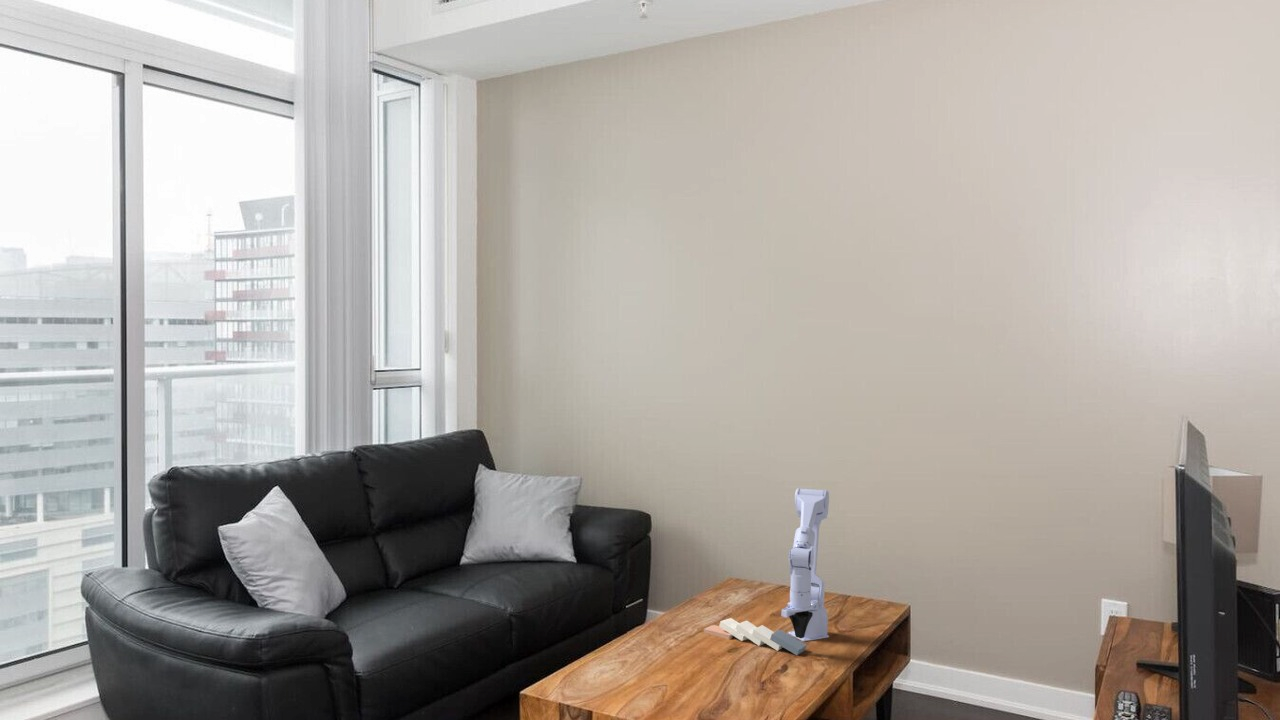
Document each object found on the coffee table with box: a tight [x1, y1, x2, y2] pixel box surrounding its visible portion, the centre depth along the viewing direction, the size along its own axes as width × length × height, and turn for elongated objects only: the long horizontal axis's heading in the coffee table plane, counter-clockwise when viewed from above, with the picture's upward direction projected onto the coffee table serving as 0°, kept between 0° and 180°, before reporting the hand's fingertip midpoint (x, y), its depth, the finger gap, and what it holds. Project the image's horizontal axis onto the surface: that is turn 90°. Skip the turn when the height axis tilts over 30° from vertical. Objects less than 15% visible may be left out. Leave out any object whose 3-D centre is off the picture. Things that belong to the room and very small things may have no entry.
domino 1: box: [703, 624, 736, 640], centre depth 280 cm, size 2×5×9 cm
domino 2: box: [718, 617, 749, 642], centre depth 278 cm, size 2×5×9 cm
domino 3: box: [735, 619, 766, 647], centre depth 274 cm, size 2×5×9 cm
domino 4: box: [752, 624, 784, 652], centre depth 270 cm, size 2×5×9 cm
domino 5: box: [770, 629, 807, 656], centre depth 267 cm, size 2×5×9 cm
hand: (799, 637), depth 265 cm, fingers closed
